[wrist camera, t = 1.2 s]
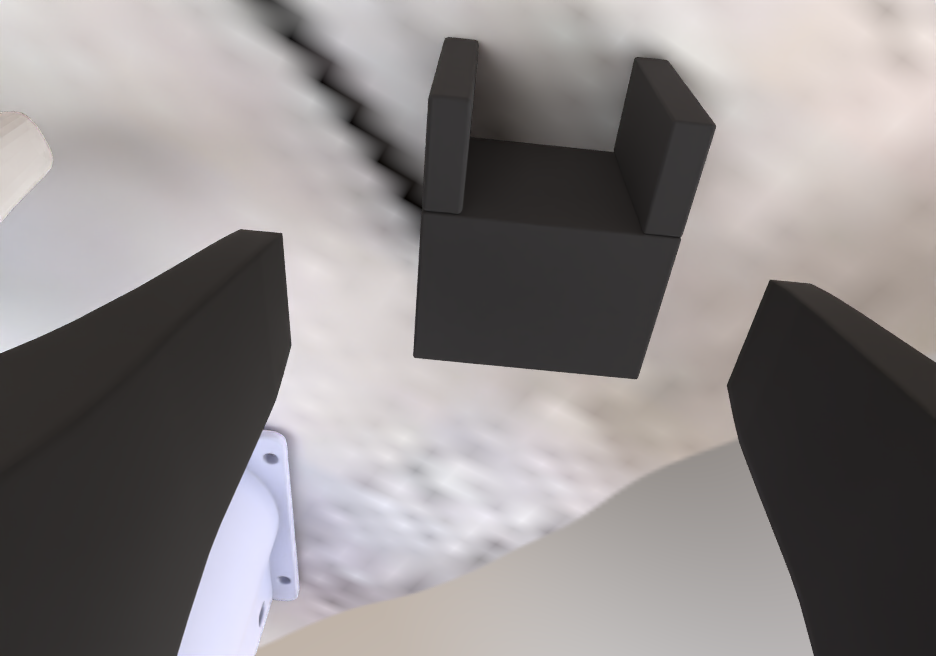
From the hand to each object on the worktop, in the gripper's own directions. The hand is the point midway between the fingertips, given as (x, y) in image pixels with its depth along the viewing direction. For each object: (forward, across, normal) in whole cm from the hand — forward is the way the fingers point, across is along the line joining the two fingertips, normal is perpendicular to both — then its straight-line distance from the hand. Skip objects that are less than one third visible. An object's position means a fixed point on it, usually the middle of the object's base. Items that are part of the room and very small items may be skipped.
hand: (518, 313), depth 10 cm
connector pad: (+8, -1, +1) cm, 8 cm away
